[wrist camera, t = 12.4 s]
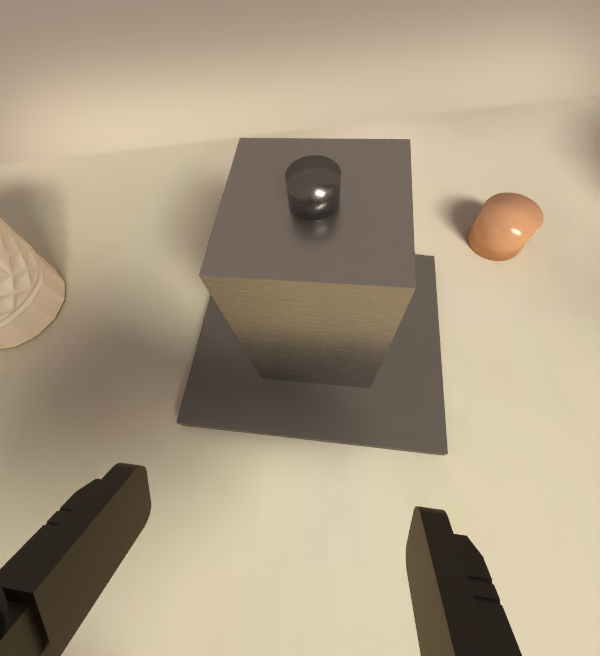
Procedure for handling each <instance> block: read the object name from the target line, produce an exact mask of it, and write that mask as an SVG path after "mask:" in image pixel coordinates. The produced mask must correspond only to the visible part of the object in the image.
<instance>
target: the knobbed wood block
mask: <svg viewBox="0 0 600 656" xmlns="http://www.w3.org/2000/svg"><path fill="white" fill-rule="evenodd" d="M199 276H200V278H201V279H202V281H203V283H204V284H205V286H206V288H207V289H208V291H209V292H210V294H211V296H212V297H213V299H214V301H215V302H216V304H217V306H218V307H219V309H220V311H221V312H222V314H223V316H224V317H225V319H226V321H227V322H228V324H229V325H230V327H231V329H232V330H233V332H234V334H235V335H236V337H237V339H238V340H239V342H240V344H241V345H242V347H243V349H244V350H245V352H246V353H247V355H248V357H249V358H250V360H251V362H252V363H253V365H254V367H255V368H256V370H257V372H258V373H259V375H260V377H261V378H264V379H275V380H286V381H296V382H307V383H318V384H328V385H339V386H350V387H360V388H371V386H372V383H373V381H374V379H375V377H376V375H377V372H378V370H379V368H380V366H381V364H382V361H383V359H384V357H385V355H386V353H387V351H388V348H389V346H390V344H391V342H392V340H393V337H394V335H395V333H396V331H397V329H398V326H399V324H400V322H401V320H402V318H403V315H404V313H405V311H406V309H407V307H408V304H409V302H410V300H411V298H412V296H413V293H414V291H415V289H416V277H415V252H414V226H413V201H412V175H411V150H410V139H297V138H240V140H239V143H238V146H237V150H236V153H235V156H234V160H233V163H232V166H231V170H230V173H229V177H228V180H227V183H226V187H225V190H224V193H223V197H222V200H221V204H220V207H219V210H218V214H217V217H216V220H215V224H214V227H213V231H212V234H211V237H210V241H209V244H208V247H207V251H206V254H205V258H204V261H203V264H202V268H201V271H200V274H199Z"/></svg>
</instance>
